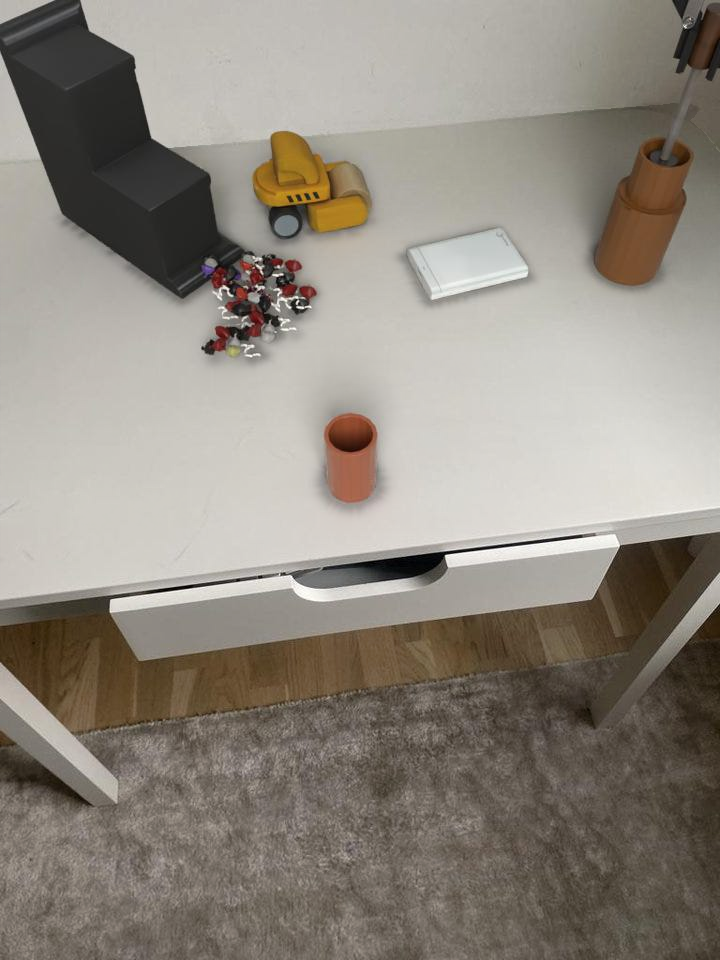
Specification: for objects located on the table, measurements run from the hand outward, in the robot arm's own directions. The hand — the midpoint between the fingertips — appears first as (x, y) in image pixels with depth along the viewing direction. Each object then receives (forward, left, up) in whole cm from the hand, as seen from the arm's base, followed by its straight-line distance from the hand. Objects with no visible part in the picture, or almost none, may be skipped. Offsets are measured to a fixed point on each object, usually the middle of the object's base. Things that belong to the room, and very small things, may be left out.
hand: (696, 68), depth 73 cm
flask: (0, 0, -24) cm, 24 cm away
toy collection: (+18, +42, -24) cm, 51 cm away
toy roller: (+29, +27, -24) cm, 46 cm away
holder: (-8, +46, -24) cm, 52 cm away
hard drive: (+10, +17, -24) cm, 31 cm away
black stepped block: (+37, +46, -24) cm, 64 cm away
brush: (0, 0, -15) cm, 15 cm away
